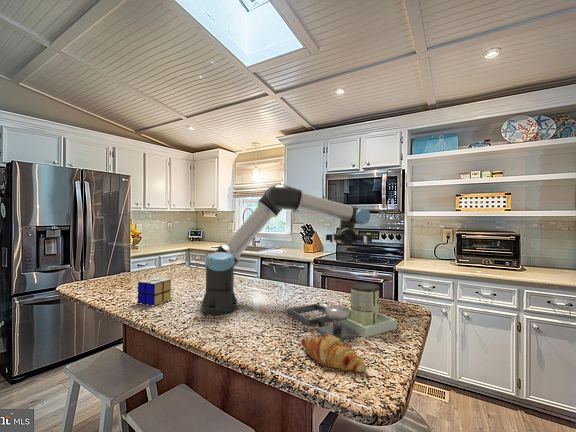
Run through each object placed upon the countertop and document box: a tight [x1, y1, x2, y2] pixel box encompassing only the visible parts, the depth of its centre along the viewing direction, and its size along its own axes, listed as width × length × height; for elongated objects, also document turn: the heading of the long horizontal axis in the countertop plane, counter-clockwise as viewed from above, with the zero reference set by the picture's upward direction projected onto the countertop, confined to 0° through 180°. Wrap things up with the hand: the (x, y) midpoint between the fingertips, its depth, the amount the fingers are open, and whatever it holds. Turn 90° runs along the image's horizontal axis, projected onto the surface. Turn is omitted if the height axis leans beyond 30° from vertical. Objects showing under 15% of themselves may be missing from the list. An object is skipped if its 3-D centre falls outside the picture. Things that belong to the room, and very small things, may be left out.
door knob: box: [316, 304, 359, 342], centre depth 101 cm, size 10×15×9 cm, turn 31°
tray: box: [342, 309, 398, 339], centre depth 106 cm, size 16×16×3 cm
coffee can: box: [350, 281, 380, 326], centre depth 107 cm, size 10×10×14 cm
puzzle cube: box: [137, 277, 172, 306], centre depth 131 cm, size 10×10×10 cm
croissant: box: [301, 334, 367, 373], centre depth 80 cm, size 21×10×8 cm, turn 49°
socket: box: [287, 303, 333, 327], centre depth 115 cm, size 15×15×2 cm
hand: (349, 239), depth 121 cm, fingers open, 13 cm apart
